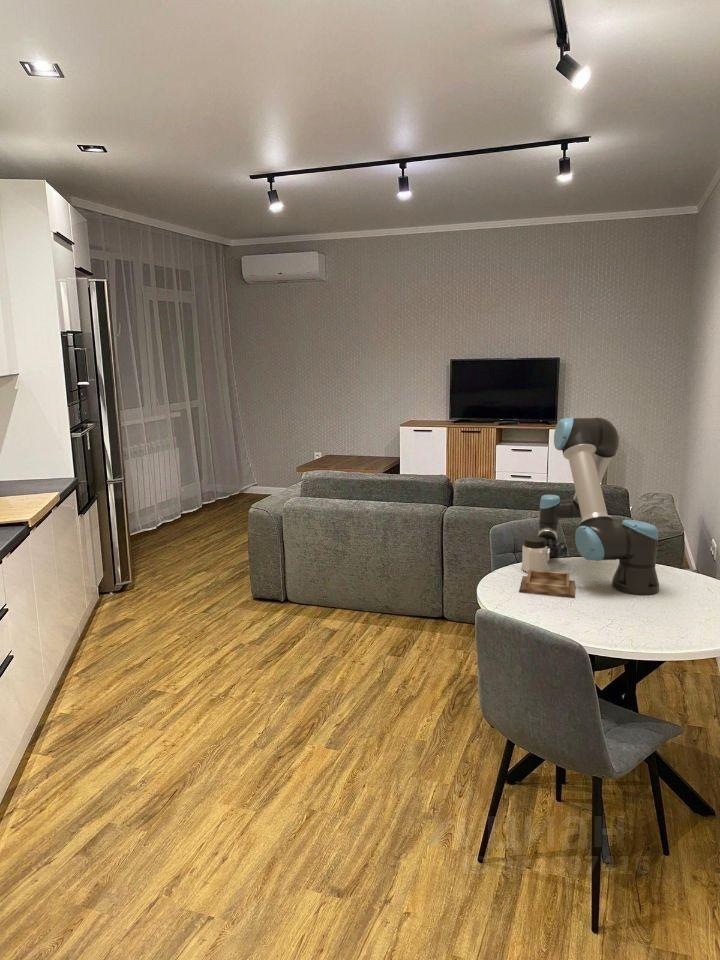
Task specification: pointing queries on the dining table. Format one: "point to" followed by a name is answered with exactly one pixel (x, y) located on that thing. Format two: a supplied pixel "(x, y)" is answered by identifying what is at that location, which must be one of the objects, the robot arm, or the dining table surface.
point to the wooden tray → (548, 584)
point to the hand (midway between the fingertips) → (544, 556)
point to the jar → (534, 554)
